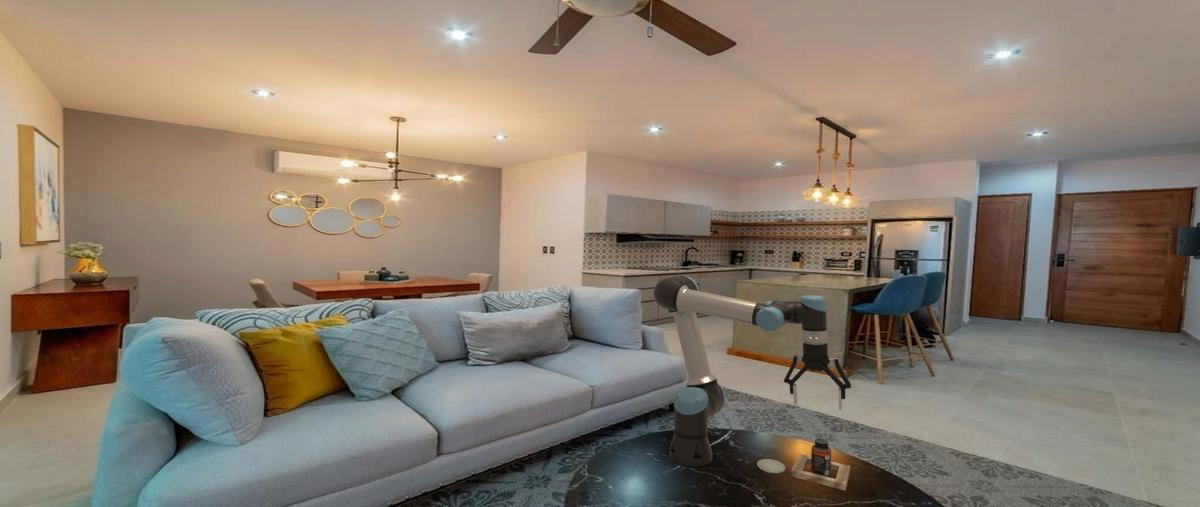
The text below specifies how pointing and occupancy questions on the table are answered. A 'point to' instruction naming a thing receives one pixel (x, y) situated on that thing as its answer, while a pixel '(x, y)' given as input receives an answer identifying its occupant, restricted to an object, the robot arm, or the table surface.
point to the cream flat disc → (771, 466)
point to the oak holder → (835, 483)
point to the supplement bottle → (821, 458)
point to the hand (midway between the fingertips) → (817, 406)
